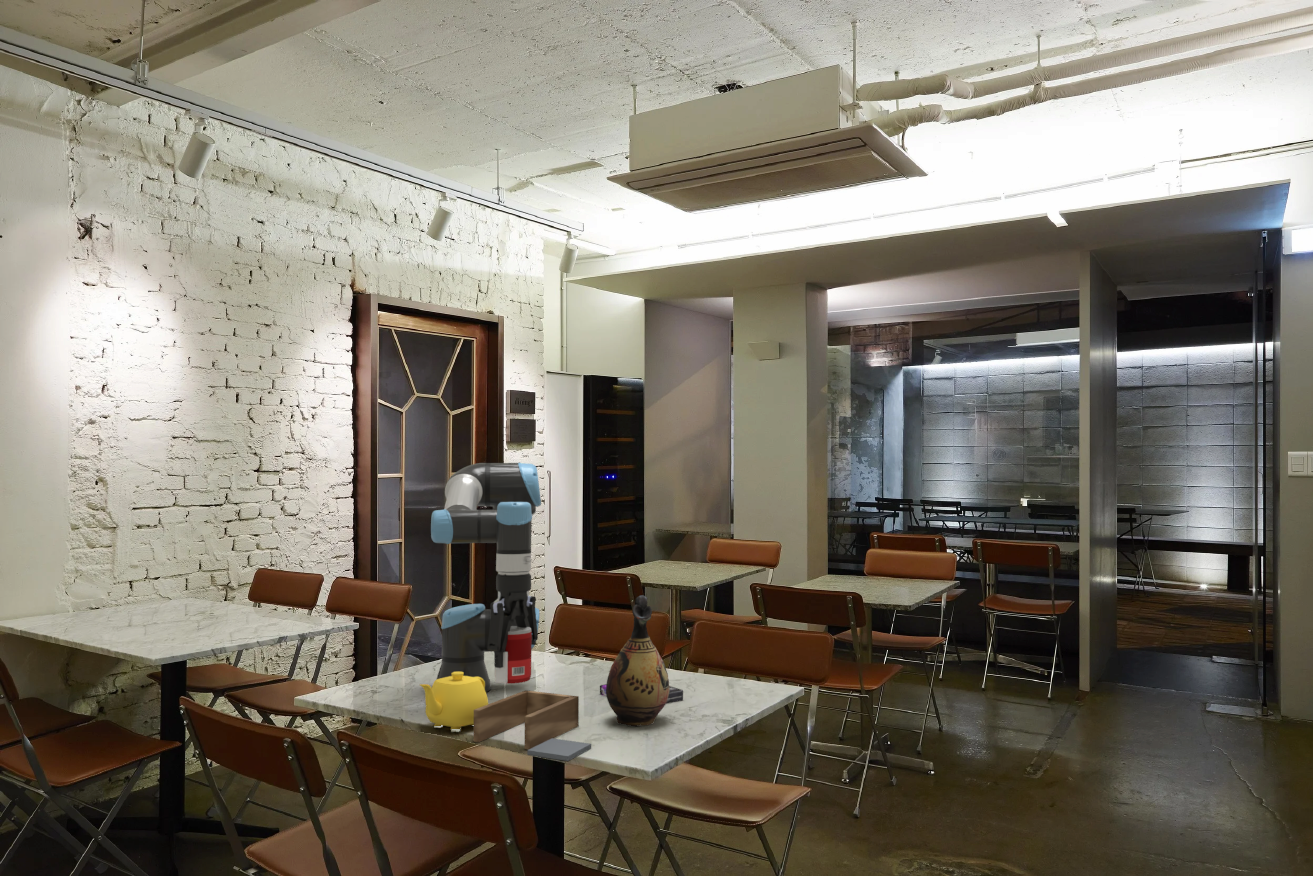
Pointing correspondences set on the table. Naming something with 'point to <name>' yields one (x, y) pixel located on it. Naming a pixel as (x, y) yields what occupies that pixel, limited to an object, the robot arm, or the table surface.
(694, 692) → the table surface
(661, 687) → the ceramic jug
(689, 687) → the table surface
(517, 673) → the canned food
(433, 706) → the teapot
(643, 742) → the table surface
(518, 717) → the shelf
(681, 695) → the box
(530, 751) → the coaster
